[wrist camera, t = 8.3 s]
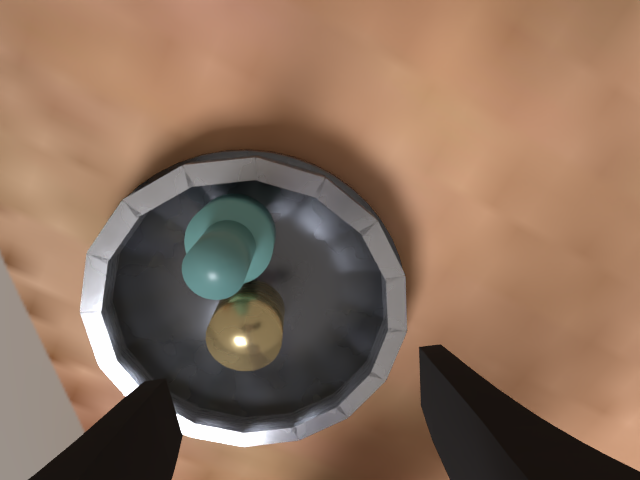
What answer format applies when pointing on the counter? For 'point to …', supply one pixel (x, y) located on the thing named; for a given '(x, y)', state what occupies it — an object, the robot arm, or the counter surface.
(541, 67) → the counter surface
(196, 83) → the counter surface
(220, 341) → the round metal bowl
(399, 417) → the counter surface
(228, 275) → the teal mushroom knob
